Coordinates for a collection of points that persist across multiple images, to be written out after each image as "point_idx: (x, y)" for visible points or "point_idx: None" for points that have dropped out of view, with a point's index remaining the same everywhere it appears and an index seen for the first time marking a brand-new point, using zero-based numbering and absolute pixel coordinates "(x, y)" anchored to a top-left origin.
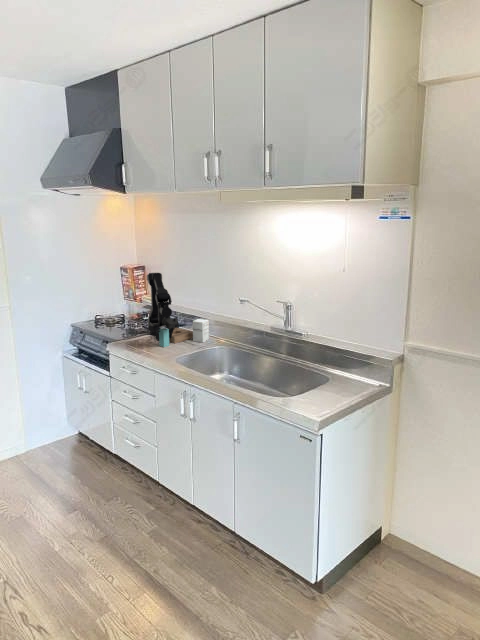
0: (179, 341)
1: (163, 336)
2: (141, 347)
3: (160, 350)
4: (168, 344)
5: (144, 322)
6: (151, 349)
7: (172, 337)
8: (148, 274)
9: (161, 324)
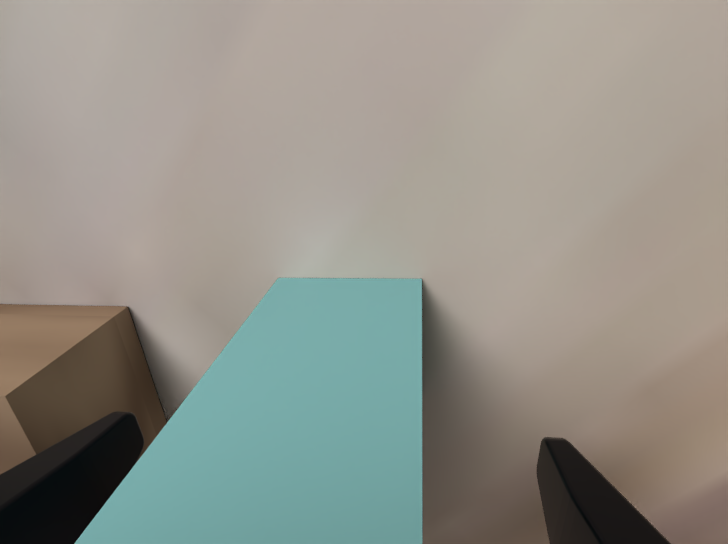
0: (6, 310)
1: (420, 509)
2: (693, 535)
3: (689, 130)
4: (290, 291)
5: None
6: (721, 345)
7: (57, 434)
8: None
9: None
